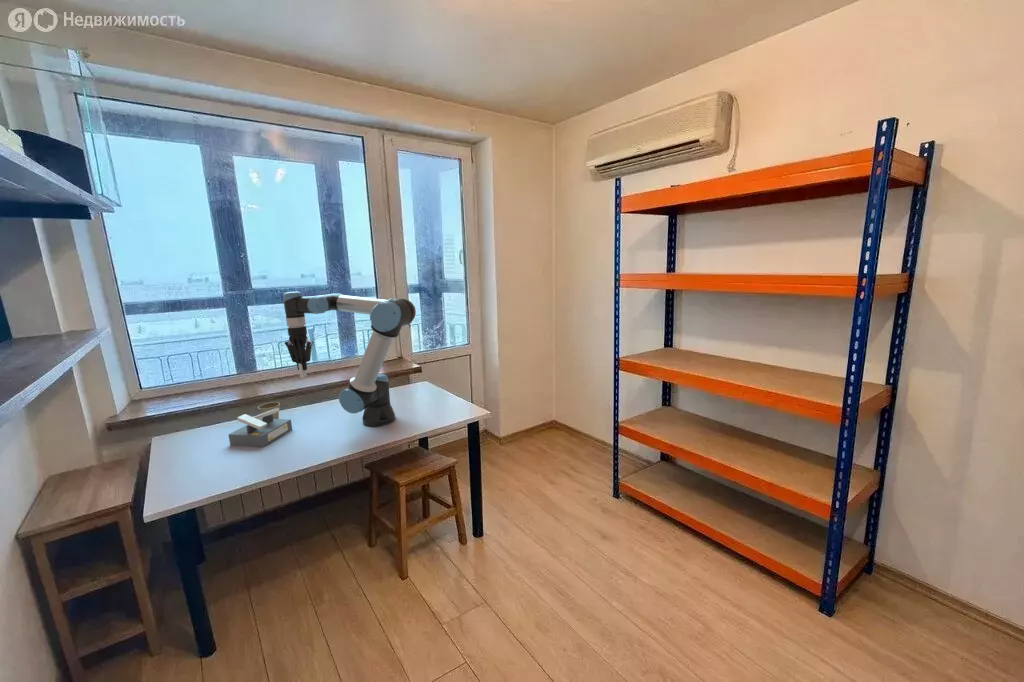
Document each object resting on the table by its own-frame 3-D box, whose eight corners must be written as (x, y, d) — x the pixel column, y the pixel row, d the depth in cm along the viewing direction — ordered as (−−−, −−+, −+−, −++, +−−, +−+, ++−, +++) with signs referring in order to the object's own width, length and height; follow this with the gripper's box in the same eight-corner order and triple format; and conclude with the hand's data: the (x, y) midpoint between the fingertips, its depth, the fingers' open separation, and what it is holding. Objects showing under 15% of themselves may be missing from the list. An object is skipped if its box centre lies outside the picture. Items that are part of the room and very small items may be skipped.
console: (293, 429, 191) (290, 413, 189) (264, 447, 173) (261, 429, 172) (261, 428, 193) (259, 411, 192) (230, 445, 176) (227, 427, 174)
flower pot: (256, 424, 199) (253, 407, 197) (274, 417, 207) (272, 400, 205) (267, 427, 195) (265, 410, 193) (286, 420, 203) (284, 403, 201)
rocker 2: (279, 410, 187) (278, 407, 187) (273, 413, 183) (272, 410, 183) (260, 417, 189) (259, 414, 189) (254, 420, 185) (252, 417, 185)
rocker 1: (266, 426, 179) (267, 423, 179) (259, 429, 175) (260, 426, 175) (244, 416, 180) (244, 413, 179) (237, 420, 176) (237, 417, 176)
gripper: (315, 325, 187) (321, 374, 192) (289, 325, 189) (296, 374, 194) (304, 327, 180) (311, 379, 185) (277, 327, 182) (285, 378, 187)
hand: (303, 376), depth 189 cm, fingers closed
